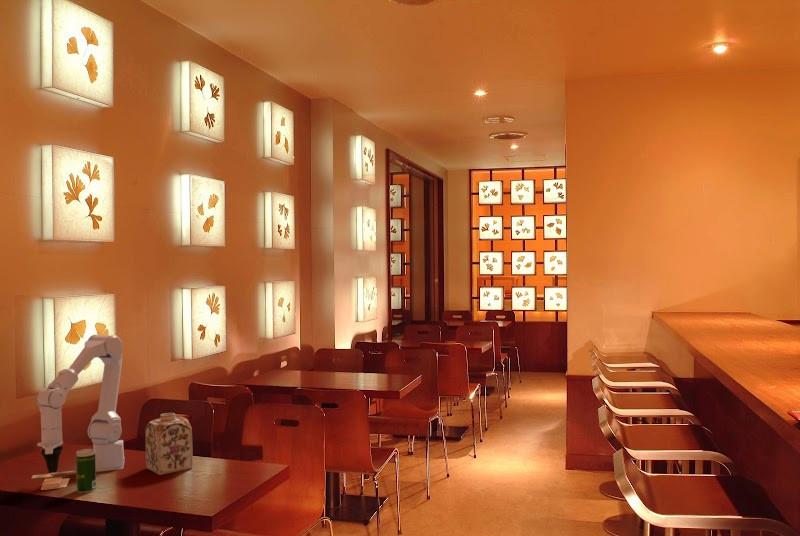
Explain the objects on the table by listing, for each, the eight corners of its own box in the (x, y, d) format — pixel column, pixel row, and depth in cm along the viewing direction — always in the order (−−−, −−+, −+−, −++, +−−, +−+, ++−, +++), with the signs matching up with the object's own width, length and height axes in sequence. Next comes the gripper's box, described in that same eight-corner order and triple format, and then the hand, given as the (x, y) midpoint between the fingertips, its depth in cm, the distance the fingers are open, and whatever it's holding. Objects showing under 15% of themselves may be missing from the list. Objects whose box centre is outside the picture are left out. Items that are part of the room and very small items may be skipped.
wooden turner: (75, 472, 234) (75, 469, 234) (74, 475, 231) (74, 472, 231) (33, 477, 230) (33, 474, 230) (31, 480, 227) (31, 477, 227)
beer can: (98, 488, 217) (97, 448, 217) (93, 493, 211) (91, 452, 211) (80, 489, 216) (79, 449, 216) (74, 494, 211) (72, 453, 211)
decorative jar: (158, 476, 228) (156, 419, 228) (145, 468, 237) (143, 414, 237) (194, 468, 236) (192, 413, 235) (180, 461, 245) (178, 408, 244)
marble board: (69, 478, 227) (69, 478, 227) (66, 487, 218) (66, 486, 218) (45, 481, 225) (45, 480, 225) (40, 490, 216) (40, 489, 216)
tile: (44, 479, 220) (42, 484, 215) (62, 477, 222) (59, 482, 216) (45, 484, 220) (42, 490, 215) (62, 482, 222) (59, 488, 216)
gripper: (40, 424, 226) (42, 467, 226) (33, 434, 212) (34, 480, 212) (65, 422, 228) (66, 464, 228) (59, 431, 214) (60, 477, 214)
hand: (52, 472), depth 220 cm, fingers closed
